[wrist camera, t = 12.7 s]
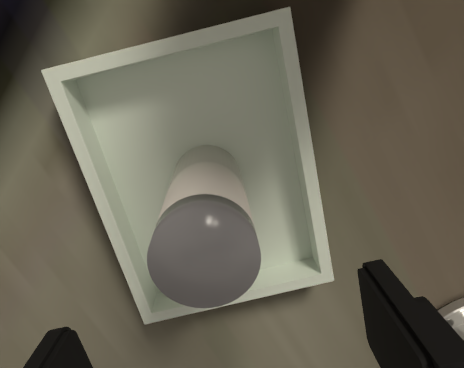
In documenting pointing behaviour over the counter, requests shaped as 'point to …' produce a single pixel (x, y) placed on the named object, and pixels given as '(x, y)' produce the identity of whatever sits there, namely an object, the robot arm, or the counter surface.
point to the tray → (199, 144)
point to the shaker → (204, 233)
